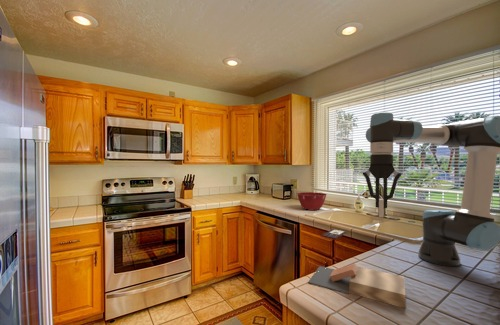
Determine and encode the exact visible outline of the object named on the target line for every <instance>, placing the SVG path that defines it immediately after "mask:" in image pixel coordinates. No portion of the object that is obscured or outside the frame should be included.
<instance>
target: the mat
mask: <svg viewBox="0 0 500 325" xmlns="http://www.w3.org/2000/svg"><path fill="white" fill-rule="evenodd" d="M325 268H326V269H325ZM333 270H336V269H333V268H331V267H326V266H321V265H319V266H318V268H316V270H315V272H316V273H315V272H314V273H313V274H312V276H311V277H310V279H309V280H307V283H308V284H310V285H315V286H318V287H321V288H325V289H329V290H332V291H336V292H340V293H342V294H347V295H349V294H350V293H349V281H350V278H351V277H347V278H344V279H340V280H337V281H333V282H332V280H331V278H330V275H331V273H332V271H333ZM318 271H319V272H318Z"/></svg>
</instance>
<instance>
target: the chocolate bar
mask: <svg viewBox="0 0 500 325" xmlns="http://www.w3.org/2000/svg"><path fill="white" fill-rule="evenodd" d="M345 234H347V231H343V230H338V229H334V228H333V229H331V230H329V231H327V232H324V233H323V234H321V237H323V238H328V239H334V240H337V239H339V238H340V237H342V236H344V235H345Z"/></svg>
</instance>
